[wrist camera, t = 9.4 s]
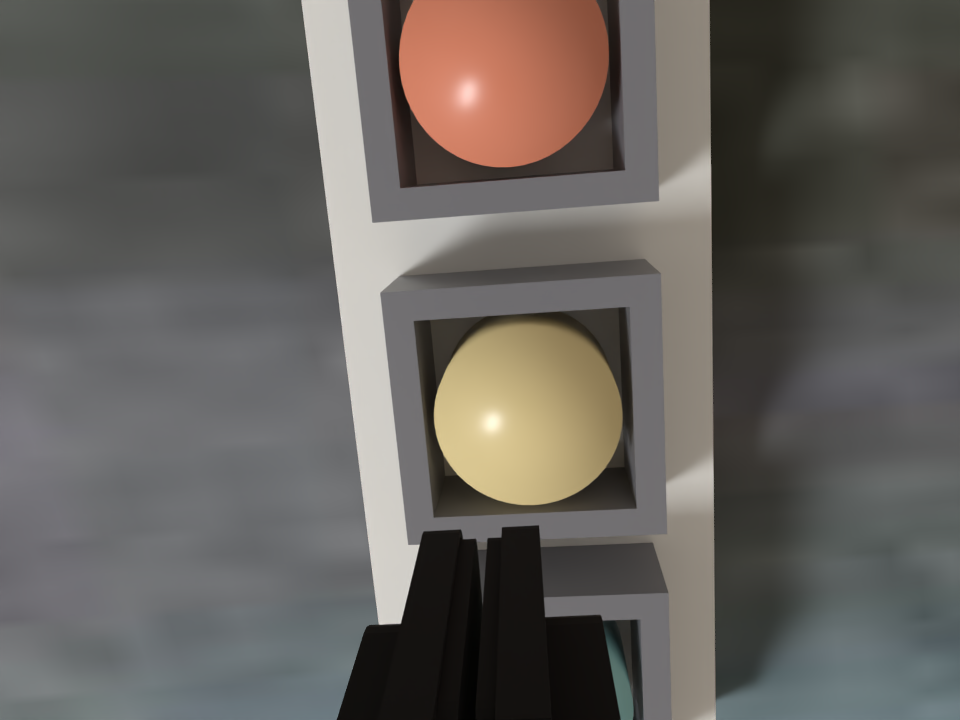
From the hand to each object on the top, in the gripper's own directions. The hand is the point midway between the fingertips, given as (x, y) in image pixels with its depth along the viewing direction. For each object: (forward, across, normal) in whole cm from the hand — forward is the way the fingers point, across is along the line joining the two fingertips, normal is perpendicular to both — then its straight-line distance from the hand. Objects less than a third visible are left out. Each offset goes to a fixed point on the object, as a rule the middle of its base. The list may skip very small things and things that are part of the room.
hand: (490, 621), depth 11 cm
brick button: (+13, -1, -8) cm, 16 cm away
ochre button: (+13, -1, +1) cm, 13 cm away
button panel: (+15, -1, +1) cm, 15 cm away
